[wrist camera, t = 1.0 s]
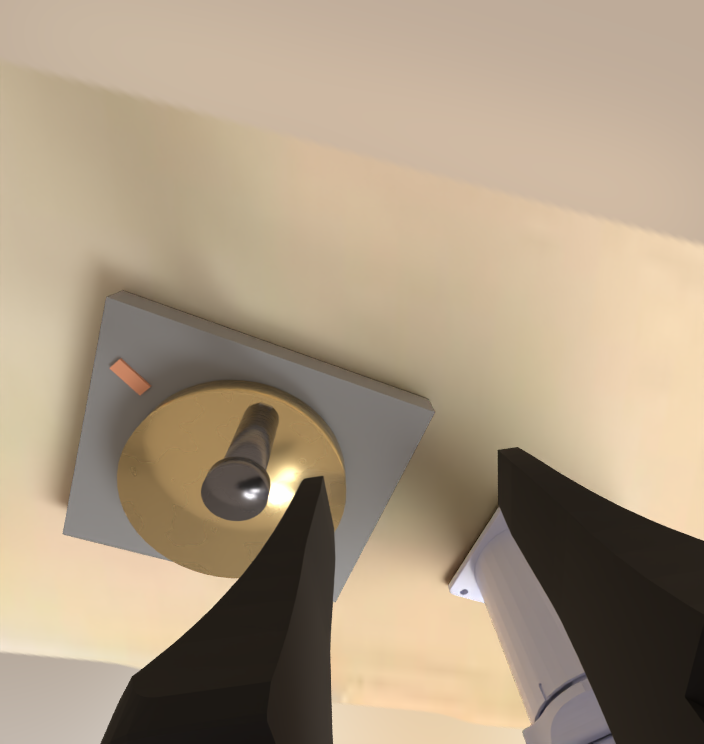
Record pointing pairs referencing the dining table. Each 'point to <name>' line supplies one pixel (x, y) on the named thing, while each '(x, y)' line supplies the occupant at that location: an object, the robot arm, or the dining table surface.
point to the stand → (230, 362)
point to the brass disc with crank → (224, 472)
